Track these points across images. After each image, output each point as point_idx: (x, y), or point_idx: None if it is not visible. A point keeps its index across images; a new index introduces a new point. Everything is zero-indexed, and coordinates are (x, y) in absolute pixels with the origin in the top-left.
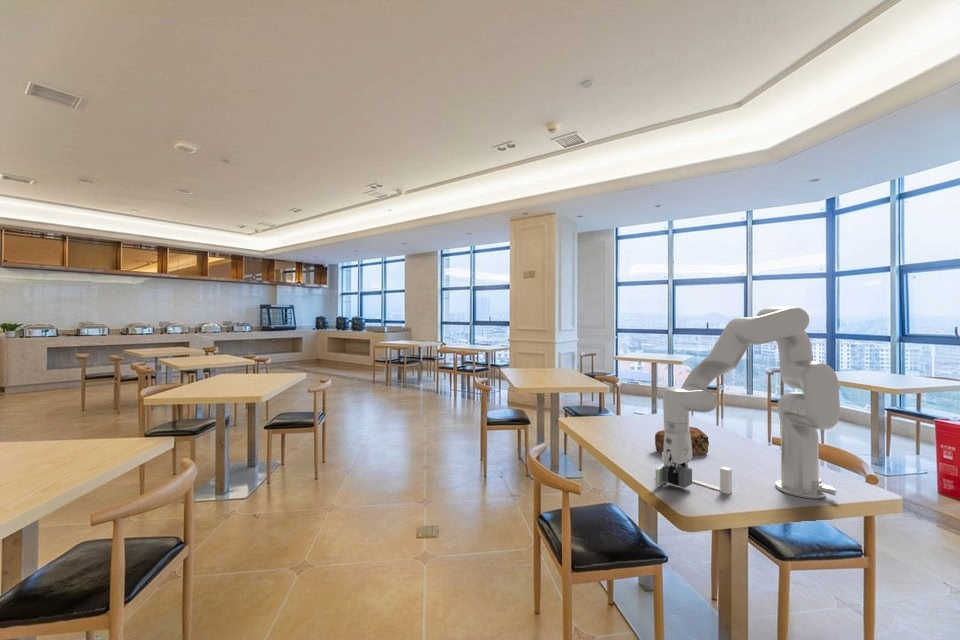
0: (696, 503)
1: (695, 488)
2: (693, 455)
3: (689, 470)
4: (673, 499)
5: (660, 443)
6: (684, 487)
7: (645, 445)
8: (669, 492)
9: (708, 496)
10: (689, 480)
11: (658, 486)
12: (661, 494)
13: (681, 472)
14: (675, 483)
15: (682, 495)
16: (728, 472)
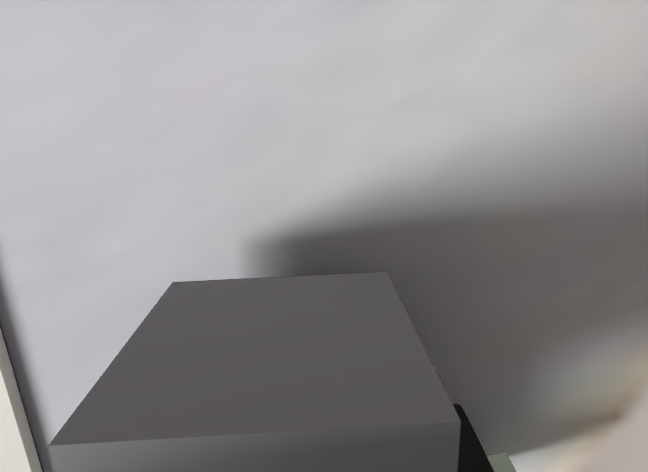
0: (553, 6)
1: (129, 250)
2: None
3: (187, 428)
4: (635, 228)
5: None
6: (380, 275)
7: None
8: (483, 345)
9: (213, 27)
10: (234, 309)
11: (509, 461)
12: (596, 361)
13: (450, 461)
14: None
15: (450, 230)
16: None
